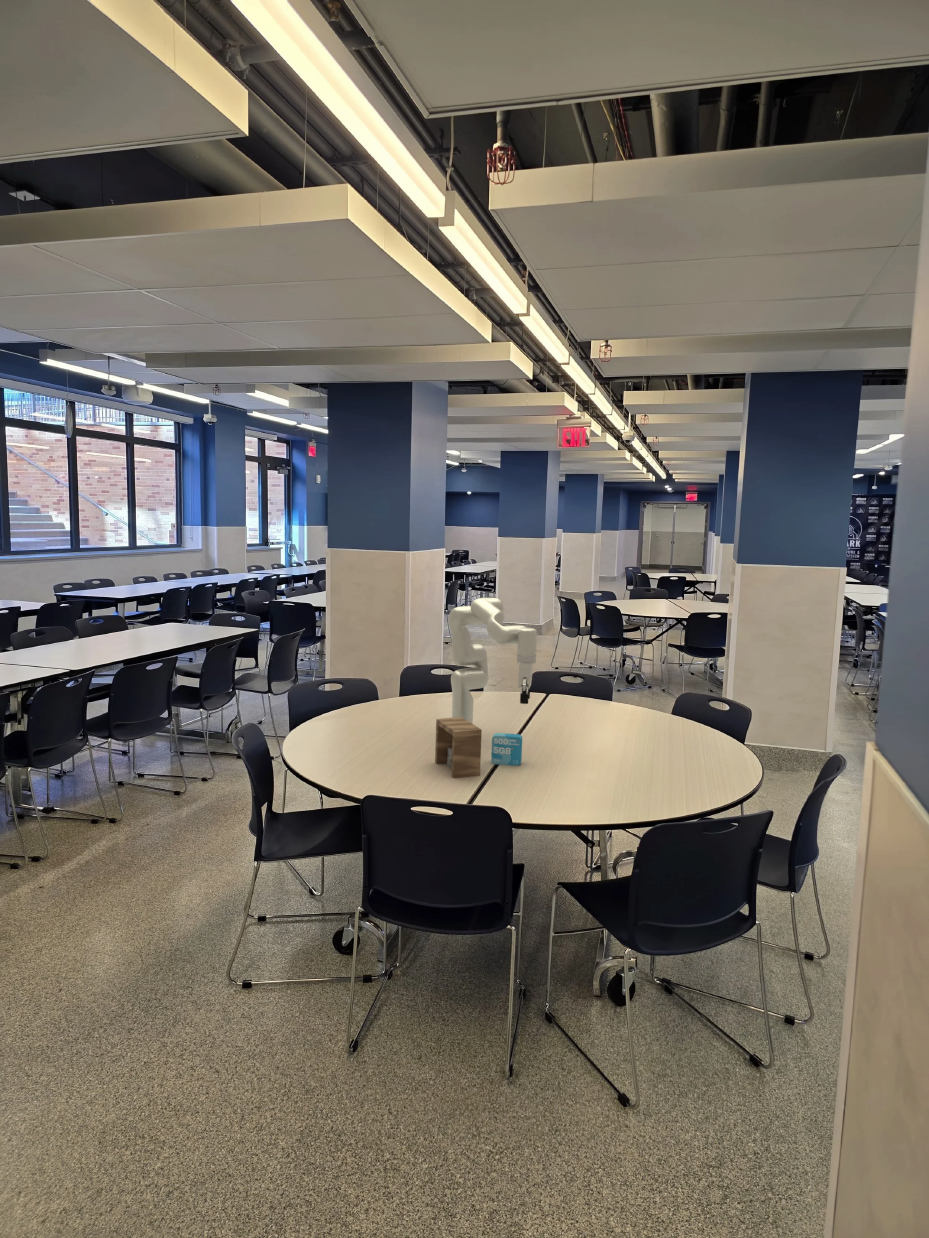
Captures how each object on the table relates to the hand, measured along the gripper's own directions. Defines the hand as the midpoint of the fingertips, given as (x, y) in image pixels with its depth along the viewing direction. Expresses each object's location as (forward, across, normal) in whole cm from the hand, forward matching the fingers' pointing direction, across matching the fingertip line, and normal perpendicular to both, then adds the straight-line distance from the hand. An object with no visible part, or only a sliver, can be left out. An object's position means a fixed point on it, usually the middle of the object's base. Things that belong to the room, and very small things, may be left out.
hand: (524, 701), depth 295 cm
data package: (+26, 0, -7) cm, 27 cm away
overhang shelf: (+26, +12, -25) cm, 38 cm away
